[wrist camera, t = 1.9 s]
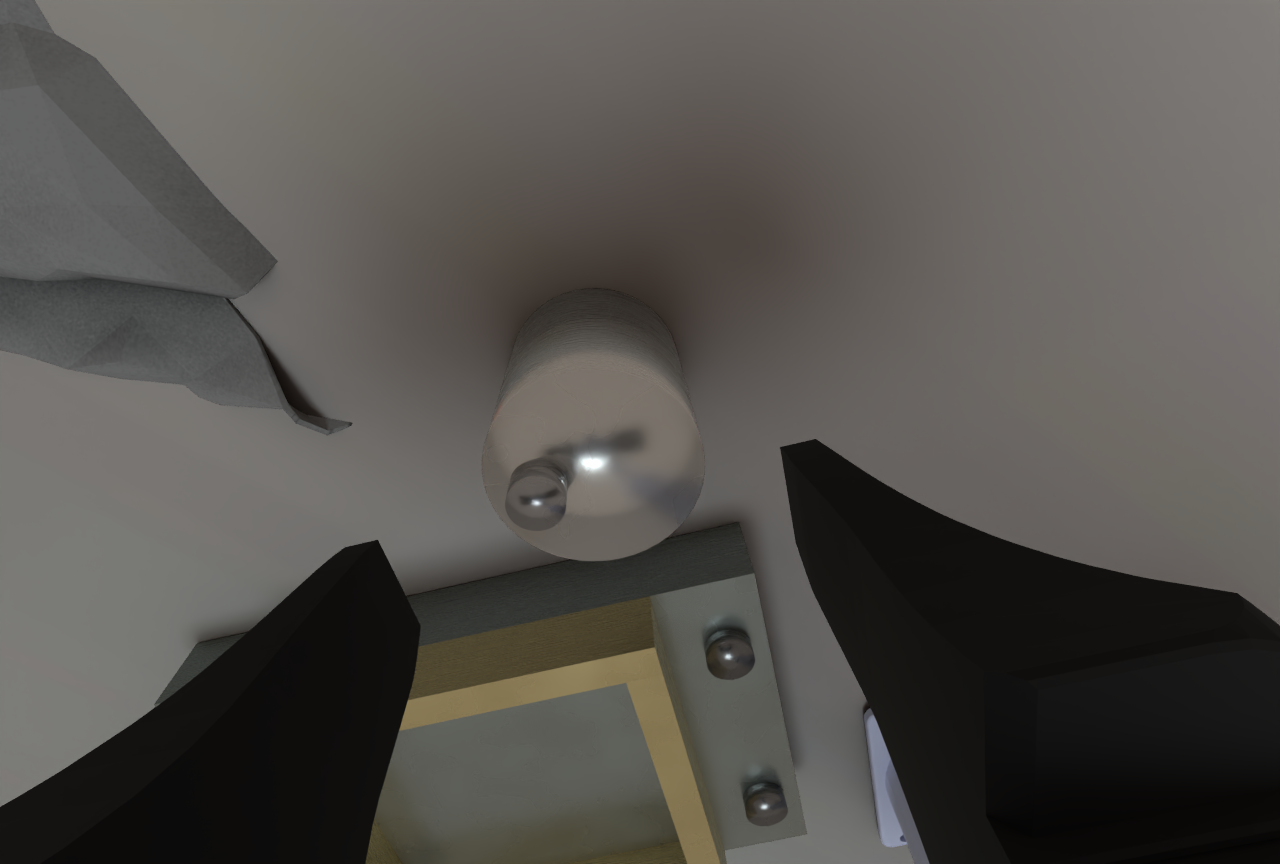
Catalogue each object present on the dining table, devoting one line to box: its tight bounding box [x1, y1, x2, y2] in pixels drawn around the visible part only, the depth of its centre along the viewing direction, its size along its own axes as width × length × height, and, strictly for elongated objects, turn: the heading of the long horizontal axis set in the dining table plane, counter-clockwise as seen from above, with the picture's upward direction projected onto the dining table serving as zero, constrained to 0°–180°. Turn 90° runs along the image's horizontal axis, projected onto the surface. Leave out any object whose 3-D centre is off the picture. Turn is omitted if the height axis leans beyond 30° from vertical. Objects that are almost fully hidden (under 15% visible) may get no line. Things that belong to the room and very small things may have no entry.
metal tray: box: [154, 523, 807, 864], centre depth 23 cm, size 21×12×4 cm, turn 103°
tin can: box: [482, 288, 705, 561], centre depth 17 cm, size 5×5×6 cm
